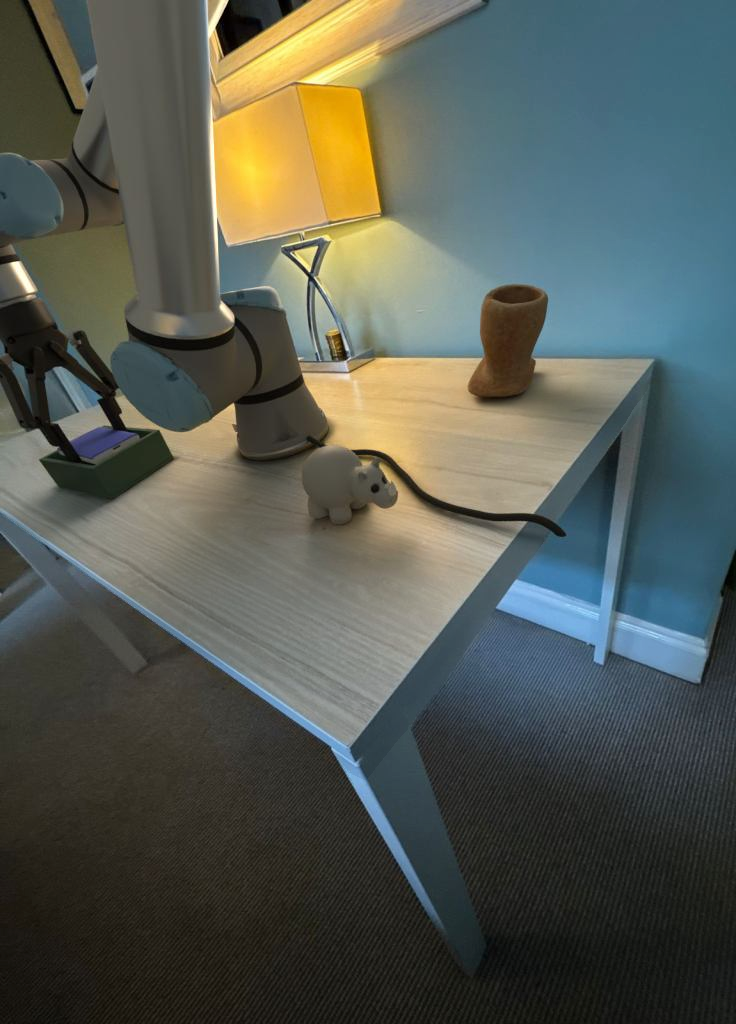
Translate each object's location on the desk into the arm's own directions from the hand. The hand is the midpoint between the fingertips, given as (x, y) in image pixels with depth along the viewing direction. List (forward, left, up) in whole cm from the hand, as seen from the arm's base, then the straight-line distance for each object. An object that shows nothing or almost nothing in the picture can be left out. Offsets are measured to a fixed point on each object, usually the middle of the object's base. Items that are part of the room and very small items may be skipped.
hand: (100, 447), depth 74 cm
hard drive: (0, 0, 0) cm, 0 cm away
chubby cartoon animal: (-50, 0, -5) cm, 50 cm away
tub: (0, 0, -5) cm, 5 cm away
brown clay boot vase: (-57, -39, -5) cm, 69 cm away
